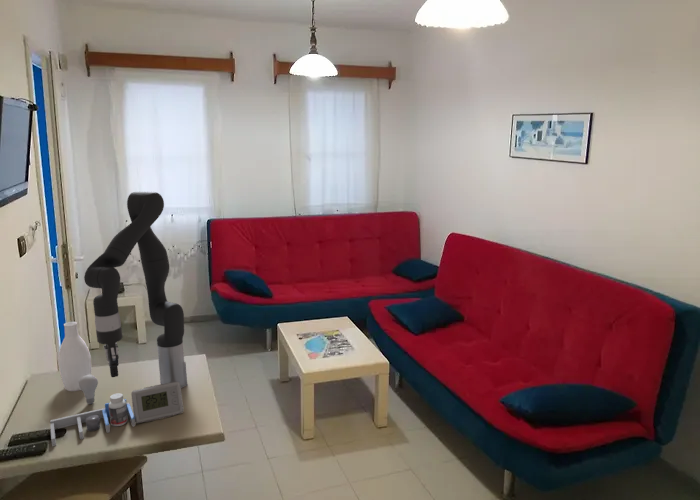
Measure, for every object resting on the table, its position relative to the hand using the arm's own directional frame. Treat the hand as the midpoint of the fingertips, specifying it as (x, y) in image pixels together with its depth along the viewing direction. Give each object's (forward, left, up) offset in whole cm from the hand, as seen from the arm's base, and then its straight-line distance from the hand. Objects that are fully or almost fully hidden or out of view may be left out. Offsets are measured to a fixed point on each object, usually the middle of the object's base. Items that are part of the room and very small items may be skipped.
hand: (114, 375), depth 180 cm
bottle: (+10, -37, -17) cm, 42 cm away
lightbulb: (+7, -19, -17) cm, 27 cm away
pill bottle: (0, 0, -17) cm, 17 cm away
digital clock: (-12, +2, -17) cm, 21 cm away
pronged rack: (+8, -1, -17) cm, 19 cm away
